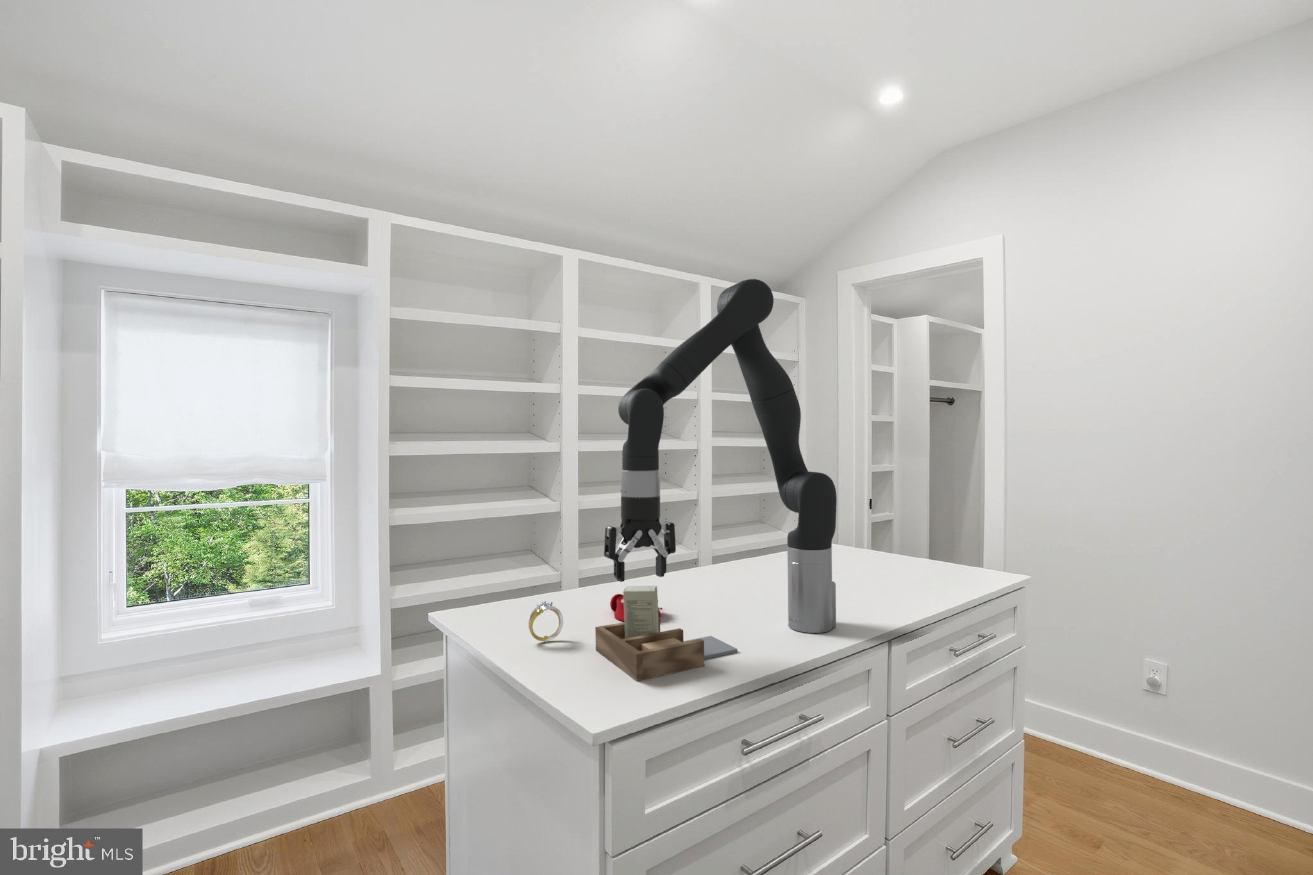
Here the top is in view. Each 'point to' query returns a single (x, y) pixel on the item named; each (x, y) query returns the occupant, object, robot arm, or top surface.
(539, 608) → the engagement ring
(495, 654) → the top surface
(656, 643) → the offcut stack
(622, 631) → the walnut rack
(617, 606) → the alarm clock
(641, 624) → the skincare box
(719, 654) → the slate mat
